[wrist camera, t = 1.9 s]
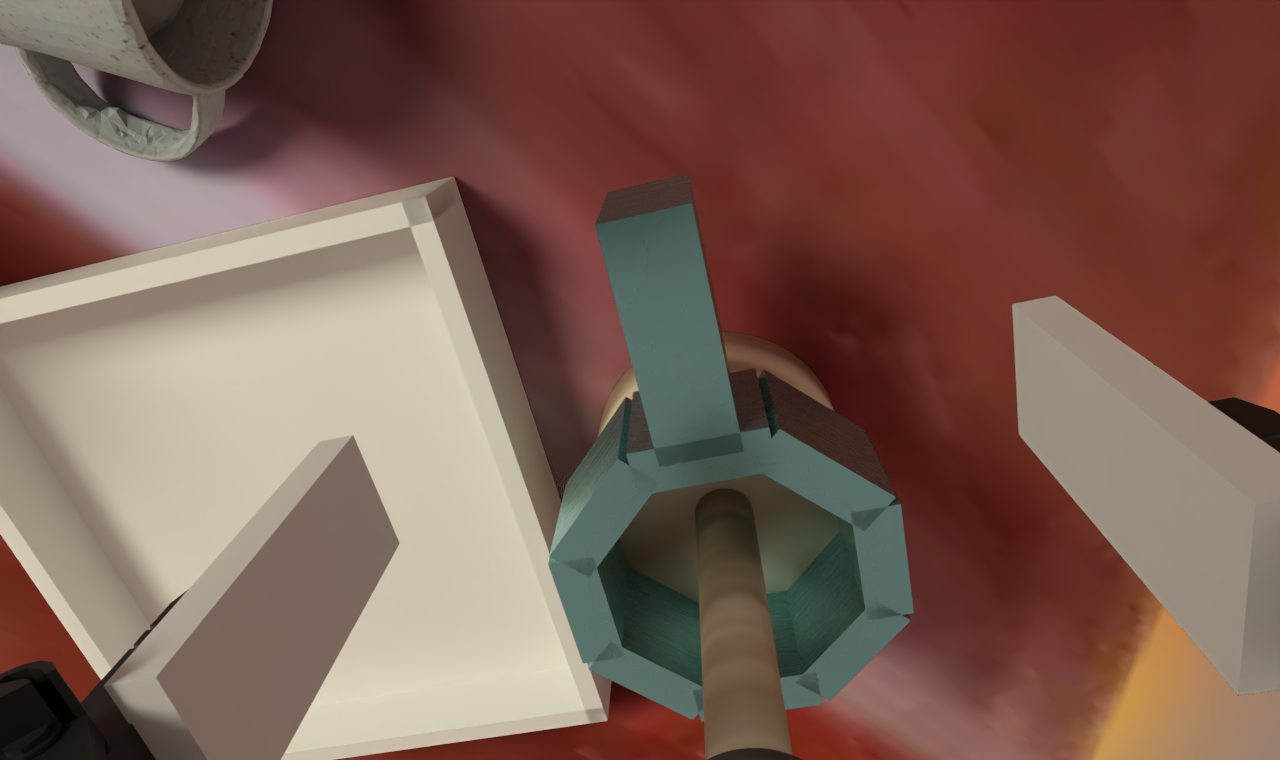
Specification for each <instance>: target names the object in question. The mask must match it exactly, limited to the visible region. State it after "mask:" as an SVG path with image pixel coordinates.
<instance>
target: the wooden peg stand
mask: <svg viewBox="0 0 1280 760" xmlns="http://www.w3.org/2000/svg"><path fill="white" fill-rule="evenodd" d="M722 335H723V339H724V344H725V349H726V354H727V359H728V363H729V368H730V373H731V372H736V371H741V370H746V369H751V368H755V369H756V373H757V377H759V375H760V374H761V373H762V371H763V370H764V369H765V370H766V371H768V372H770V373H771V374H773V375H775V376H776V377H778V378H780V379H781V380H783V381H785V382H786V383H788V384H790V385H791V386H793V387H795V388H796V389H798V390H800V391H801V392H803V393H805V394H806V395H808V396H810V397H811V398H813V399H815V400H816V401H818V402H820V403H821V404H823V405H825V406H826V407H828V408H830V409H831V410H833V411H835V410H834V408H833V406H832V403H831V401H830V398H829V396H828V393H827V392H826V390H825V388H824V387H823V385H822V383H821V381H820V380H819V379H818V378H817V376H816V375H815V374H814V373H813V371H812V370H811V369H810V368H809V367H808V366H807V365H806V364H805V363H804V362H803V361H801V360H800V359H799V358H798V357H796V356H795V355H794V354H792V353H791V352H789V351H788V350H786V349H784V348H782V347H780V346H779V345H777V344H775V343H773V342H770V341H767V340H764V339H762V338H759V337H755V336H751V335H746V334H742V333H732V332H722ZM635 391H639V389H638V386H637V382H636V378H635V374H634V370H633V367H632V366H631V367H630V368H629V369H628V370H627V371H626V372H625V373H624V374H623V375H622V377H621V378H620V379H619V381H618V382H617V383H616V384H615V386H614V388H613V390H612V391H611V393H610V395H609V397H608V399H607V401H606V404H605V407H604V409H603V413H602V417H601V421H600V426H599V431H598V437H599V435H600V434H601V432H602V431H603V429H604V428H605V426H606V425H607V424H608V422H609V421H610V419H611V418H612V416H613V415H614V413H615V412H616V410H617V409H618V407H619V406H620V404H621V403H622V402H623V400H624V399H625V397H628V398H629V399H631V400H632V396H633V392H635ZM598 437H597V438H598ZM839 532H840V528H839V522H838V516H836V515H834V514H833V513H831V512H829V511H827V510H826V509H824V508H822V507H820V506H819V505H817V504H815V503H813V502H812V501H810V500H808V499H806V498H805V497H803V496H801V495H799V494H798V493H796V492H794V491H792V490H791V489H789V488H787V487H785V486H783V485H782V484H780V483H778V482H776V481H775V480H773V479H771V478H769V477H768V476H766V475H764V474H757V475H751V476H746V477H740V478H735V479H729V480H724V481H718V482H713V483H707V484H701V485H696V486H690V487H685V488H679V489H674V490H668V491H663V492H657V493H652V495H651V496H650V497H649V499H648V500H647V501H646V503H645V504H644V505H643V507H642V508H641V509H640V511H639V512H638V513H637V515H636V516H635V517H634V519H633V520H632V521H631V523H630V524H629V525H628V527H627V528H626V529H625V531H624V532H623V533H622V535H621V536H620V539H621V542H622V546H623V549H624V552H625V556H626V559H627V562H628V566H629V567H631V568H632V569H634V570H636V571H638V572H640V573H642V574H644V575H646V576H648V577H650V578H652V579H654V580H656V581H657V582H659V583H661V584H663V585H665V586H667V587H669V588H671V589H673V590H675V591H677V592H679V593H680V594H682V595H684V596H686V597H688V598H690V599H692V600H694V601H696V602H698V603H699V611H700V635H701V658H702V681H703V704H704V727H705V750H706V760H801V759H799V758H797V757H795V756H793V755H792V749H791V742H790V736H789V730H788V724H787V718H786V711H785V705H784V699H783V693H782V687H781V680H780V674H779V668H778V662H777V656H776V650H775V643H774V637H773V631H772V625H771V619H770V612H769V606H768V600H767V594H770V593H776V592H783V591H787V590H788V589H789V587H790V586H791V585H792V584H793V583H794V582H795V581H796V580H797V578H798V577H799V576H800V575H801V574H802V573H803V572H804V571H805V570H806V568H807V567H808V566H809V565H810V564H811V563H812V562H813V561H814V559H815V558H816V557H817V556H818V555H819V554H820V553H821V552H822V551H823V549H824V548H825V547H826V546H827V545H828V544H829V543H830V542H831V540H832V539H833V538H834V537H835V536H836V535H837V534H838V533H839Z"/></svg>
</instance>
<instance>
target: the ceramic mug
mask: <svg viewBox="0 0 1280 760" xmlns="http://www.w3.org/2000/svg"><path fill="white" fill-rule="evenodd" d="M272 5H273V0H0V43H2V44H6V45H10V46H14V47H15V49H16V51H17V53H18V55H19V57H20V59H21V61H22V63H23V65H24V66H25V68H26V70H27V72H28V74H29V76H30V77H31V79H32V80H33V82H34V83H35V84H36V85H37V87H38V88H39V89H40V91H41V92H42V93H43V95H44V96H45V97H46V99H47V100H48V102H49V103H50V104H51V105H52V106H53V107H54V108H55V109H56V110H57V111H59V112H60V113H61V114H62V115H63V116H64V117H66V118H67V119H68V120H69V121H70V122H71V123H72V124H74V125H75V126H77V127H78V128H79V129H81V130H82V131H84V132H85V133H86V134H88V135H89V136H91V137H93V138H94V139H96V140H98V141H100V142H102V143H103V144H105V145H108V146H110V147H112V148H114V149H116V150H118V151H121V152H123V153H126V154H129V155H132V156H135V157H139V158H142V159H147V160H152V161H161V162H168V161H175V160H179V159H182V158H185V157H187V156H188V155H189V154H190V153H192V152H193V151H194V150H196V149H197V148H198V147H199V146H200V145H201V144H202V143H203V142H204V141H205V140H206V139H207V138H208V137H209V136H210V135H211V134H212V133H213V132H214V131H215V129H216V128H217V127H218V125H219V123H220V121H221V118H222V115H223V112H224V104H225V90H226V89H228V88H229V87H231V86H232V85H234V84H235V83H236V82H237V81H239V80H240V79H241V78H242V77H243V75H244V73H245V72H246V71H247V70H248V69H249V68H250V66H251V64H252V62H253V60H254V58H255V57H256V55H257V54H258V52H259V50H260V47H261V44H262V41H263V38H264V36H265V34H266V31H267V29H268V25H269V21H270V17H271V11H272ZM70 61H71V62H74V63H78V64H81V65H84V66H87V67H91V68H94V69H97V70H100V71H104V72H107V73H111V74H114V75H118V76H121V77H124V78H128V79H131V80H135V81H138V82H142V83H145V84H148V85H151V86H154V87H158V88H162V89H165V90H169V91H173V92H176V93H182V94H187V95H193V108H192V122H191V127H190V130H189V129H188V130H184V131H180V130H178V129H172V128H169V127H166V126H163V125H159V124H156V123H153V122H151V121H148V120H145V119H142V118H139V117H136V116H133V115H130V114H128V113H126V112H125V111H123V110H122V109H120V108H116V107H112V106H110V105H109V104H108V103H106V102H105V101H104V100H102V99H101V98H100V97H99V96H98V95H97V94H96V93H95V92H94V91H93V90H92V89H91V88H90V87H89V86H88V85H87V84H86V83H85V82H84V81H83V80H82V78H81V77H80V76H79V74H78V73H77V71H76V70H75V68H74V66H73V65H72V63H71V62H70Z"/></svg>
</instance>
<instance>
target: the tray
mask: <svg viewBox="0 0 1280 760" xmlns="http://www.w3.org/2000/svg"><path fill="white" fill-rule="evenodd" d="M350 435H353V436H354V438H355V440H356V443H357V445H358V447H359V450H360V452H361V454H362V457H363V459H364V461H365V464H366V466H367V468H368V471H369V473H370V475H371V477H372V480H373V482H374V484H375V487H376V489H377V491H378V494H379V496H380V498H381V501H382V503H383V505H384V508H385V510H386V512H387V515H388V517H389V519H390V522H391V524H392V526H393V529H394V531H395V533H396V535H397V538H398V540H399V542H400V544H399V546H398V548H397V549H396V551H395V553H394V555H393V557H392V559H391V560H390V562H389V564H388V566H387V568H386V569H385V571H384V573H383V575H382V577H381V579H380V580H379V582H378V584H377V586H376V588H375V589H374V591H373V593H372V595H371V597H370V599H369V600H368V602H367V604H366V606H365V608H364V610H363V611H362V613H361V615H360V617H359V619H358V620H357V622H356V624H355V626H354V628H353V630H352V631H351V633H350V635H349V637H348V639H347V640H346V642H345V644H344V646H343V648H342V650H341V651H340V653H339V655H338V657H337V659H336V660H335V662H334V664H333V666H332V668H331V670H330V671H329V673H328V675H327V677H326V679H325V680H324V682H323V684H322V686H321V688H320V690H319V691H318V693H317V695H316V697H315V699H314V700H313V702H312V704H311V706H310V708H309V710H308V711H307V713H306V715H305V717H304V719H303V720H302V722H301V724H300V726H299V728H298V730H297V731H296V733H295V735H294V737H293V739H292V740H291V742H290V744H289V746H288V748H287V750H286V751H285V753H284V755H283V757H282V759H281V760H335V759H342V758H349V757H356V756H363V755H370V754H377V753H384V752H391V751H398V750H405V749H412V748H419V747H426V746H433V745H441V744H448V743H455V742H462V741H469V740H476V739H483V738H490V737H497V736H504V735H511V734H518V733H525V732H532V731H539V730H546V729H553V728H561V727H568V726H575V725H582V724H589V723H596V722H603V721H608V712H609V702H610V691H611V681H612V680H609V679H607V678H605V677H603V676H601V675H599V674H597V673H595V672H593V671H591V670H589V669H588V667H589V663H584V664H583V663H582V660H581V657H580V654H579V651H578V648H577V646H576V643H575V640H574V637H573V634H572V631H571V628H570V626H569V623H568V620H567V617H566V614H565V611H564V609H563V606H562V603H561V600H560V597H559V594H558V591H557V589H556V586H555V583H554V580H553V577H552V574H551V572H550V569H549V566H548V562H549V558H550V557H549V555H550V551H551V546H552V542H553V538H554V533H555V529H556V525H557V521H558V516H559V512H560V508H561V500H560V497H559V494H558V491H557V488H556V485H555V482H554V479H553V475H552V472H551V469H550V466H549V463H548V460H547V457H546V454H545V451H544V448H543V445H542V442H541V439H540V436H539V433H538V430H537V427H536V424H535V421H534V418H533V415H532V412H531V409H530V406H529V403H528V400H527V397H526V394H525V391H524V387H523V384H522V381H521V378H520V375H519V372H518V369H517V366H516V363H515V360H514V357H513V354H512V351H511V348H510V345H509V342H508V339H507V336H506V333H505V330H504V327H503V324H502V321H501V318H500V315H499V312H498V309H497V306H496V303H495V299H494V296H493V293H492V290H491V287H490V284H489V281H488V278H487V275H486V272H485V269H484V266H483V263H482V260H481V257H480V254H479V251H478V248H477V245H476V242H475V239H474V236H473V233H472V230H471V227H470V224H469V221H468V218H467V215H466V211H465V208H464V205H463V202H462V199H461V196H460V193H459V190H458V187H457V184H456V181H455V178H454V176H453V177H449V178H445V179H440V180H436V181H432V182H428V183H424V184H420V185H416V186H412V187H408V188H404V189H399V190H395V191H391V192H387V193H383V194H379V195H375V196H371V197H367V198H362V199H358V200H354V201H350V202H346V203H342V204H338V205H334V206H330V207H325V208H321V209H317V210H313V211H309V212H305V213H301V214H297V215H293V216H289V217H284V218H280V219H276V220H272V221H268V222H264V223H260V224H256V225H252V226H247V227H243V228H239V229H235V230H231V231H227V232H223V233H219V234H215V235H211V236H206V237H202V238H198V239H194V240H190V241H186V242H182V243H178V244H174V245H169V246H165V247H161V248H157V249H153V250H149V251H145V252H141V253H137V254H132V255H128V256H124V257H120V258H116V259H112V260H108V261H104V262H100V263H96V264H91V265H87V266H83V267H79V268H75V269H71V270H67V271H63V272H59V273H54V274H50V275H46V276H42V277H38V278H34V279H30V280H26V281H22V282H18V283H13V284H9V285H5V286H1V287H0V534H1V536H2V537H3V538H4V540H5V541H6V543H7V544H8V546H9V547H10V549H11V550H12V551H13V553H14V554H15V556H16V557H17V559H18V560H19V562H20V563H21V565H22V566H23V567H24V569H25V570H26V572H27V573H28V575H29V576H30V578H31V579H32V580H33V582H34V583H35V585H36V586H37V588H38V589H39V591H40V592H41V593H42V595H43V596H44V598H45V599H46V601H47V602H48V604H49V605H50V607H51V608H52V609H53V611H54V612H55V614H56V615H57V617H58V618H59V620H60V621H61V622H62V624H63V625H64V627H65V628H66V630H67V631H68V633H69V634H70V635H71V637H72V638H73V640H74V641H75V643H76V644H77V646H78V647H79V649H80V650H81V651H82V653H83V654H84V656H85V657H86V659H87V660H88V662H89V663H90V664H91V666H92V667H93V669H94V670H95V672H96V673H97V675H98V676H99V677H100V679H101V680H102V679H103V678H104V677H105V676H106V674H107V673H108V672H109V671H110V670H111V669H112V668H113V667H114V666H115V664H116V663H117V662H118V661H119V660H120V659H121V658H122V657H123V655H124V654H125V653H126V652H127V651H128V650H129V649H133V648H134V643H135V642H136V641H137V640H138V639H139V638H140V636H141V635H142V634H143V633H144V632H145V631H146V630H150V625H151V624H152V623H153V622H154V621H155V620H156V619H157V617H158V616H159V615H160V614H161V613H162V612H163V611H164V610H165V609H166V607H167V606H168V605H169V604H170V603H171V602H172V601H174V600H175V599H176V598H178V597H179V596H180V595H182V594H183V593H184V592H186V591H187V590H188V589H189V588H190V587H191V586H192V585H193V584H194V583H195V582H196V581H197V579H198V578H199V577H200V576H201V575H202V574H203V573H204V571H205V570H206V569H207V568H208V567H209V566H210V565H211V564H212V562H213V561H214V560H215V559H216V558H217V557H218V556H219V554H220V553H221V552H222V551H223V550H224V549H225V548H226V547H227V545H228V544H229V543H230V542H231V541H232V540H233V539H234V538H235V536H236V535H237V534H238V533H239V532H240V531H241V530H242V528H243V527H244V526H245V525H246V524H247V523H248V522H249V521H250V519H251V518H252V517H253V516H254V515H255V514H256V513H257V511H258V510H259V509H260V508H261V507H262V506H263V505H264V504H265V502H266V501H267V500H268V499H269V498H270V497H271V496H272V495H273V493H274V492H275V491H276V490H277V489H278V488H279V487H280V485H281V484H282V483H283V482H284V481H285V480H286V479H287V478H288V476H289V475H290V474H291V473H292V472H293V471H294V470H295V468H296V467H297V466H298V465H299V464H300V463H301V462H302V461H303V459H304V458H305V457H306V456H307V455H308V454H309V453H310V451H311V450H312V449H313V448H314V447H315V446H316V445H317V444H318V442H320V441H325V440H330V439H335V438H340V437H345V436H350Z"/></svg>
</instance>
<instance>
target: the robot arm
mask: <svg viewBox="0 0 1280 760" xmlns="http://www.w3.org/2000/svg"><path fill="white" fill-rule="evenodd" d="M1012 310H1013V330H1014V350H1015V369H1016V389H1017V409H1018V429H1019V435H1020V436H1021V438H1022V439H1023V440H1024V441H1025V442H1026V444H1027V445H1028V446H1029V447H1030V448H1031V449H1032V451H1033V452H1034V453H1035V454H1036V455H1037V457H1038V458H1039V459H1040V460H1041V461H1042V463H1043V464H1044V465H1045V466H1046V467H1047V469H1048V470H1049V471H1050V472H1051V473H1052V474H1053V476H1054V477H1055V478H1056V479H1057V480H1058V482H1059V483H1060V484H1061V485H1062V486H1063V488H1064V489H1065V490H1066V491H1067V492H1068V494H1069V495H1070V496H1071V497H1072V498H1073V499H1074V501H1075V502H1076V503H1077V504H1078V505H1079V507H1080V508H1081V509H1082V510H1083V511H1084V513H1085V514H1086V515H1087V516H1088V517H1089V518H1090V520H1091V521H1092V522H1093V523H1094V524H1095V526H1096V527H1097V528H1098V529H1099V530H1100V532H1101V533H1102V534H1103V535H1104V536H1105V538H1106V539H1107V540H1108V541H1109V542H1110V543H1111V545H1112V546H1113V547H1114V548H1115V549H1116V551H1117V552H1118V553H1119V554H1120V555H1121V557H1122V558H1123V559H1124V560H1125V561H1126V563H1127V564H1128V565H1129V566H1130V567H1131V568H1132V570H1133V571H1134V572H1135V573H1136V574H1137V576H1138V577H1139V578H1140V579H1141V580H1142V582H1143V583H1144V584H1145V585H1146V586H1147V587H1148V589H1149V590H1150V591H1151V592H1152V593H1153V595H1154V596H1155V597H1156V598H1157V599H1158V601H1159V602H1160V603H1161V604H1162V605H1163V607H1164V608H1165V609H1166V610H1167V611H1168V612H1169V614H1170V615H1171V616H1172V617H1173V618H1174V620H1175V621H1176V622H1177V623H1178V624H1179V626H1180V627H1181V628H1182V629H1183V630H1184V632H1185V633H1186V634H1187V635H1188V636H1189V637H1190V639H1191V640H1192V641H1193V642H1194V643H1195V645H1196V646H1197V647H1198V648H1199V649H1200V650H1201V652H1202V653H1203V654H1204V655H1205V656H1206V658H1207V659H1208V660H1209V661H1210V662H1211V664H1212V665H1213V666H1214V667H1215V668H1216V670H1217V671H1218V672H1219V673H1220V674H1221V676H1222V677H1223V678H1224V679H1225V680H1226V681H1227V683H1228V684H1229V685H1230V686H1231V687H1232V689H1233V690H1234V691H1235V692H1236V693H1237V695H1247V694H1255V693H1263V692H1270V691H1278V690H1280V414H1278V413H1277V412H1275V411H1274V410H1270V409H1268V408H1264V407H1261V406H1258V405H1255V404H1252V403H1249V402H1246V401H1243V400H1240V399H1237V398H1234V397H1233V398H1228V399H1222V400H1216V401H1210V402H1207V401H1205V400H1204V399H1202V398H1201V397H1200V396H1198V395H1197V394H1195V393H1194V392H1192V391H1191V390H1190V389H1188V388H1187V387H1185V386H1184V385H1183V384H1181V383H1180V382H1178V381H1177V380H1175V379H1174V378H1173V377H1171V376H1170V375H1168V374H1167V373H1165V372H1164V371H1163V370H1161V369H1160V368H1158V367H1157V366H1155V365H1154V364H1153V363H1151V362H1150V361H1148V360H1147V359H1145V358H1144V357H1143V356H1141V355H1140V354H1138V353H1137V352H1136V351H1134V350H1133V349H1131V348H1130V347H1128V346H1127V345H1126V344H1124V343H1123V342H1121V341H1120V340H1118V339H1117V338H1116V337H1114V336H1113V335H1111V334H1110V333H1108V332H1107V331H1106V330H1104V329H1103V328H1101V327H1100V326H1098V325H1097V324H1096V323H1094V322H1093V321H1091V320H1090V319H1089V318H1087V317H1086V316H1084V315H1083V314H1081V313H1080V312H1079V311H1077V310H1076V309H1074V308H1073V307H1071V306H1070V305H1069V304H1067V303H1066V302H1064V301H1063V300H1061V299H1060V298H1059V297H1057V296H1051V297H1046V298H1041V299H1036V300H1031V301H1026V302H1021V303H1016V304H1012ZM399 544H400V542H399V540H398V538H397V535H396V533H395V531H394V529H393V526H392V524H391V522H390V519H389V517H388V515H387V512H386V510H385V508H384V505H383V503H382V501H381V498H380V496H379V494H378V491H377V489H376V487H375V484H374V482H373V480H372V477H371V475H370V473H369V471H368V468H367V466H366V464H365V461H364V459H363V457H362V454H361V452H360V450H359V447H358V445H357V443H356V440H355V438H354V436H353V435H350V436H345V437H340V438H335V439H330V440H325V441H320V442H318V444H317V445H316V446H315V447H314V448H313V449H312V450H311V451H310V453H309V454H308V455H307V456H306V457H305V458H304V459H303V461H302V462H301V463H300V464H299V465H298V466H297V467H296V468H295V470H294V471H293V472H292V473H291V474H290V475H289V476H288V478H287V479H286V480H285V481H284V482H283V483H282V484H281V485H280V487H279V488H278V489H277V490H276V491H275V492H274V493H273V495H272V496H271V497H270V498H269V499H268V500H267V501H266V502H265V504H264V505H263V506H262V507H261V508H260V509H259V510H258V511H257V513H256V514H255V515H254V516H253V517H252V518H251V519H250V521H249V522H248V523H247V524H246V525H245V526H244V527H243V528H242V530H241V531H240V532H239V533H238V534H237V535H236V536H235V538H234V539H233V540H232V541H231V542H230V543H229V544H228V545H227V547H226V548H225V549H224V550H223V551H222V552H221V553H220V554H219V556H218V557H217V558H216V559H215V560H214V561H213V562H212V564H211V565H210V566H209V567H208V568H207V569H206V570H205V571H204V573H203V574H202V575H201V576H200V577H199V578H198V579H197V581H196V582H195V583H194V584H193V585H192V586H191V587H190V588H189V589H188V590H187V591H186V592H184V593H183V594H182V595H180V596H179V597H178V598H176V599H175V600H174V601H172V602H171V603H170V604H169V605H168V606H167V607H166V609H165V610H164V611H163V612H162V613H161V614H160V615H159V616H158V617H157V619H156V620H155V621H154V622H153V623H152V624H151V625H150V630H146V631H145V632H144V633H143V634H142V635H141V636H140V638H139V639H138V640H137V641H136V642H135V643H134V648H133V649H129V650H128V651H127V652H126V653H125V654H124V655H123V657H122V658H121V659H120V660H119V661H118V662H117V663H116V664H115V666H114V667H113V668H112V669H111V670H110V671H109V672H108V673H107V674H106V676H105V677H104V678H103V679H102V680H101V681H100V682H99V683H98V685H97V686H96V687H95V688H94V689H93V690H92V691H91V692H90V693H89V695H88V696H87V697H86V698H85V699H84V700H83V701H82V702H81V703H80V702H79V700H78V699H77V698H76V696H75V695H74V693H73V692H72V690H71V689H70V687H69V686H68V685H67V683H66V682H65V680H64V679H63V677H62V676H61V675H60V673H59V672H58V670H57V669H56V667H55V666H54V664H53V663H52V662H48V661H37V662H32V663H28V664H24V665H21V666H18V667H16V668H14V669H11V670H9V671H7V672H4V673H2V674H0V760H281V759H282V757H283V755H284V753H285V751H286V750H287V748H288V746H289V744H290V742H291V740H292V739H293V737H294V735H295V733H296V731H297V730H298V728H299V726H300V724H301V722H302V720H303V719H304V717H305V715H306V713H307V711H308V710H309V708H310V706H311V704H312V702H313V700H314V699H315V697H316V695H317V693H318V691H319V690H320V688H321V686H322V684H323V682H324V680H325V679H326V677H327V675H328V673H329V671H330V670H331V668H332V666H333V664H334V662H335V660H336V659H337V657H338V655H339V653H340V651H341V650H342V648H343V646H344V644H345V642H346V640H347V639H348V637H349V635H350V633H351V631H352V630H353V628H354V626H355V624H356V622H357V620H358V619H359V617H360V615H361V613H362V611H363V610H364V608H365V606H366V604H367V602H368V600H369V599H370V597H371V595H372V593H373V591H374V589H375V588H376V586H377V584H378V582H379V580H380V579H381V577H382V575H383V573H384V571H385V569H386V568H387V566H388V564H389V562H390V560H391V559H392V557H393V555H394V553H395V551H396V549H397V548H398V546H399Z"/></svg>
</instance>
